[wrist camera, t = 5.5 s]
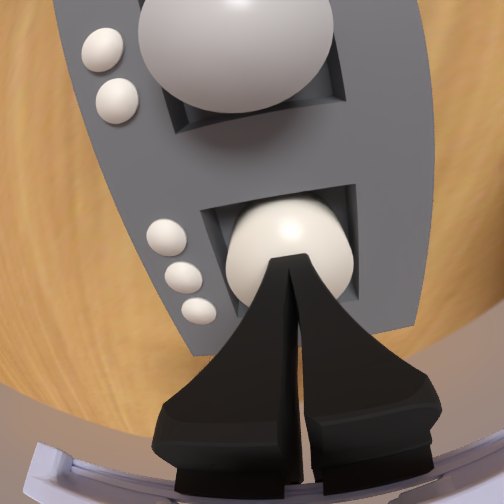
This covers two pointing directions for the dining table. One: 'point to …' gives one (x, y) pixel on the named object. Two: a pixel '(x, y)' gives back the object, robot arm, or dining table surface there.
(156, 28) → the button two
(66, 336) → the dining table surface
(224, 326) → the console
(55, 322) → the dining table surface
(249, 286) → the button three
